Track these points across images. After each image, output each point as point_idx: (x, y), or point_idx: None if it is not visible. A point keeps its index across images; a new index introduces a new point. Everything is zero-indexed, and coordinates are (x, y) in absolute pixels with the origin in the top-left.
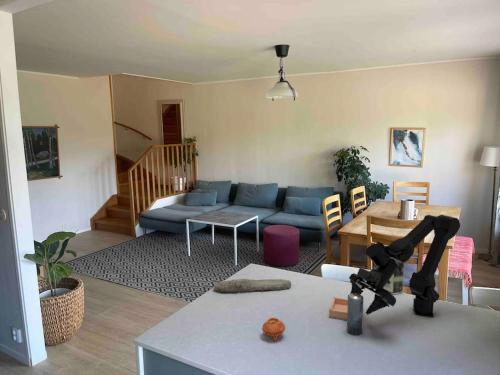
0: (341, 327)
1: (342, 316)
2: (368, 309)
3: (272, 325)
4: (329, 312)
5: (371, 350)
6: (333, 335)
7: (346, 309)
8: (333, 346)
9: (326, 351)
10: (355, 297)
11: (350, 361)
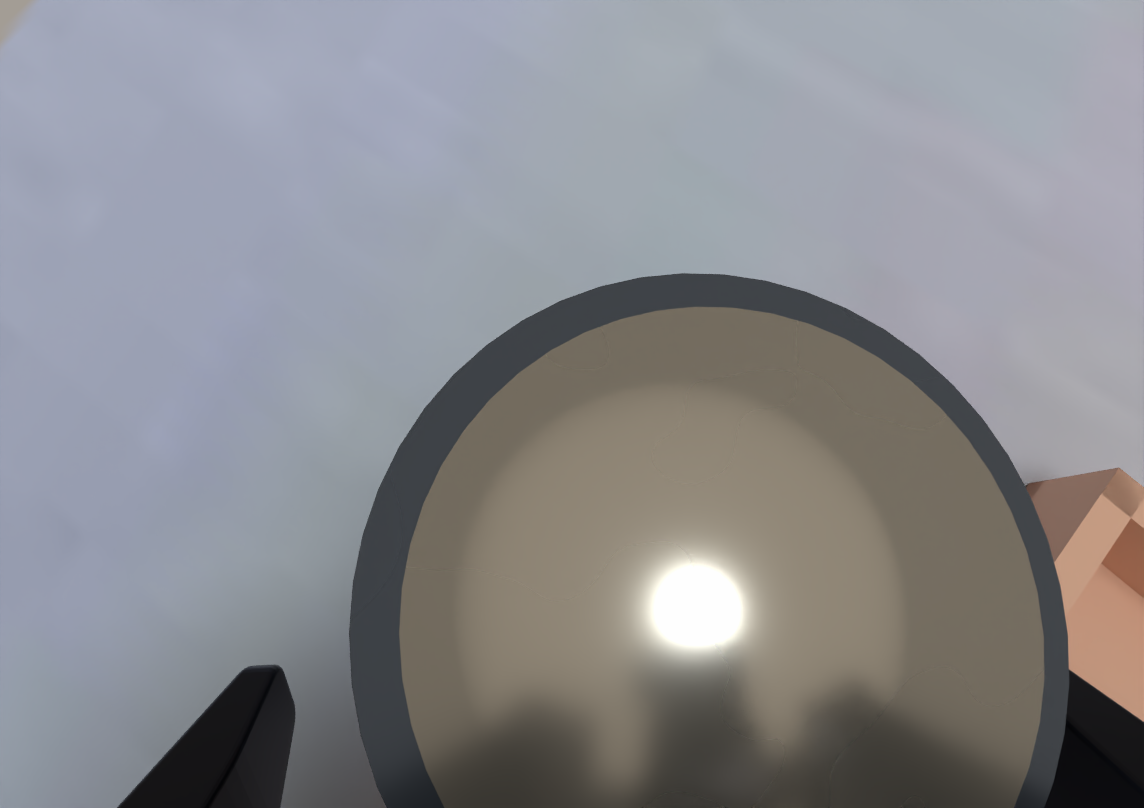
0: None
1: None
2: (183, 768)
3: None
4: (1085, 475)
5: (132, 500)
6: (613, 280)
7: None
8: (417, 154)
9: (372, 43)
10: (585, 493)
11: (101, 151)
